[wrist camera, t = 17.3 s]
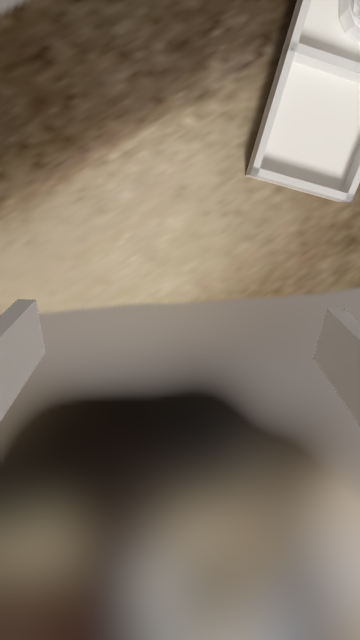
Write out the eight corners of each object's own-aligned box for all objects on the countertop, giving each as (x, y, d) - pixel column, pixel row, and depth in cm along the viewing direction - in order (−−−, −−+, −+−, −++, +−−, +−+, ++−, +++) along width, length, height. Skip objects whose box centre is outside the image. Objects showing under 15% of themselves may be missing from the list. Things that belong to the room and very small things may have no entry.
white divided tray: (245, 175, 39) (250, 173, 36) (324, -94, 30) (340, -124, 27) (338, 201, 40) (351, 202, 37) (440, -50, 32) (465, -74, 29)
